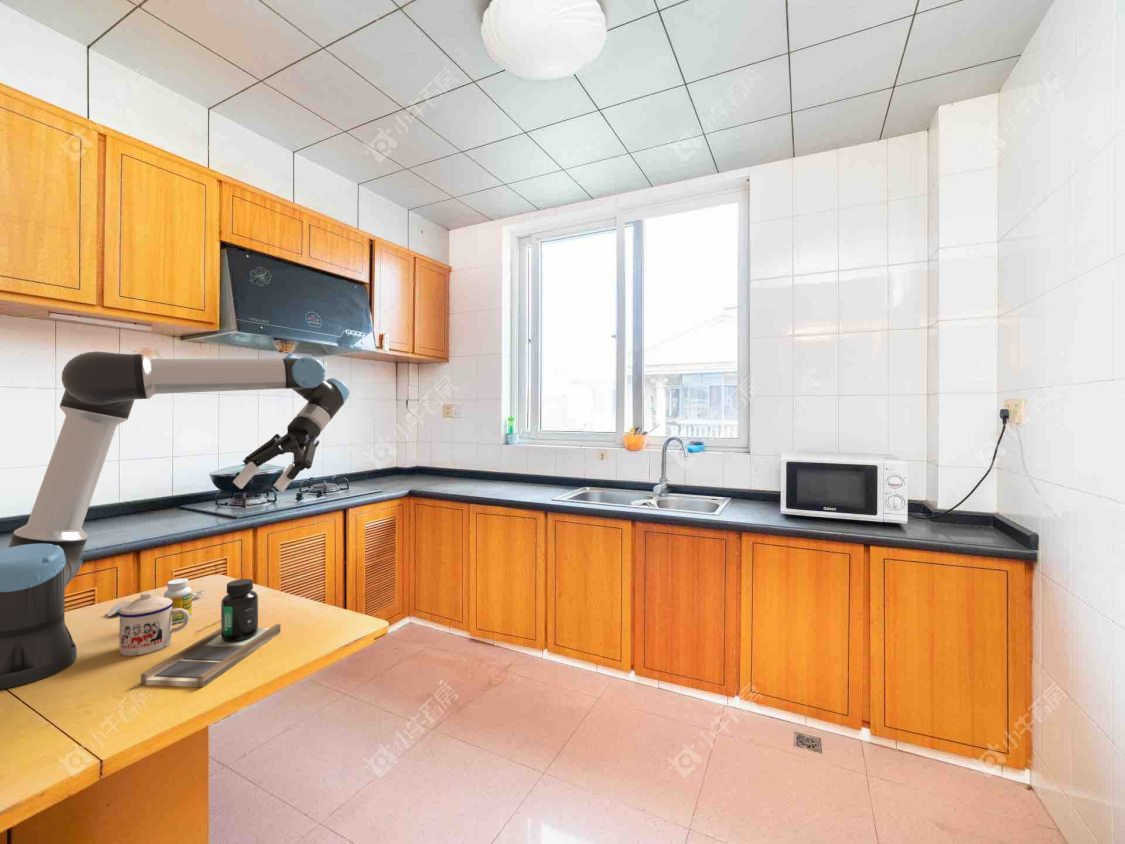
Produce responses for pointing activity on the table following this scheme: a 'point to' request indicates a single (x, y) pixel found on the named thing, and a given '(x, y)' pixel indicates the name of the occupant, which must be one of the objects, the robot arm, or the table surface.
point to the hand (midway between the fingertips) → (257, 487)
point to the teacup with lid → (147, 624)
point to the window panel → (205, 660)
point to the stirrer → (119, 605)
